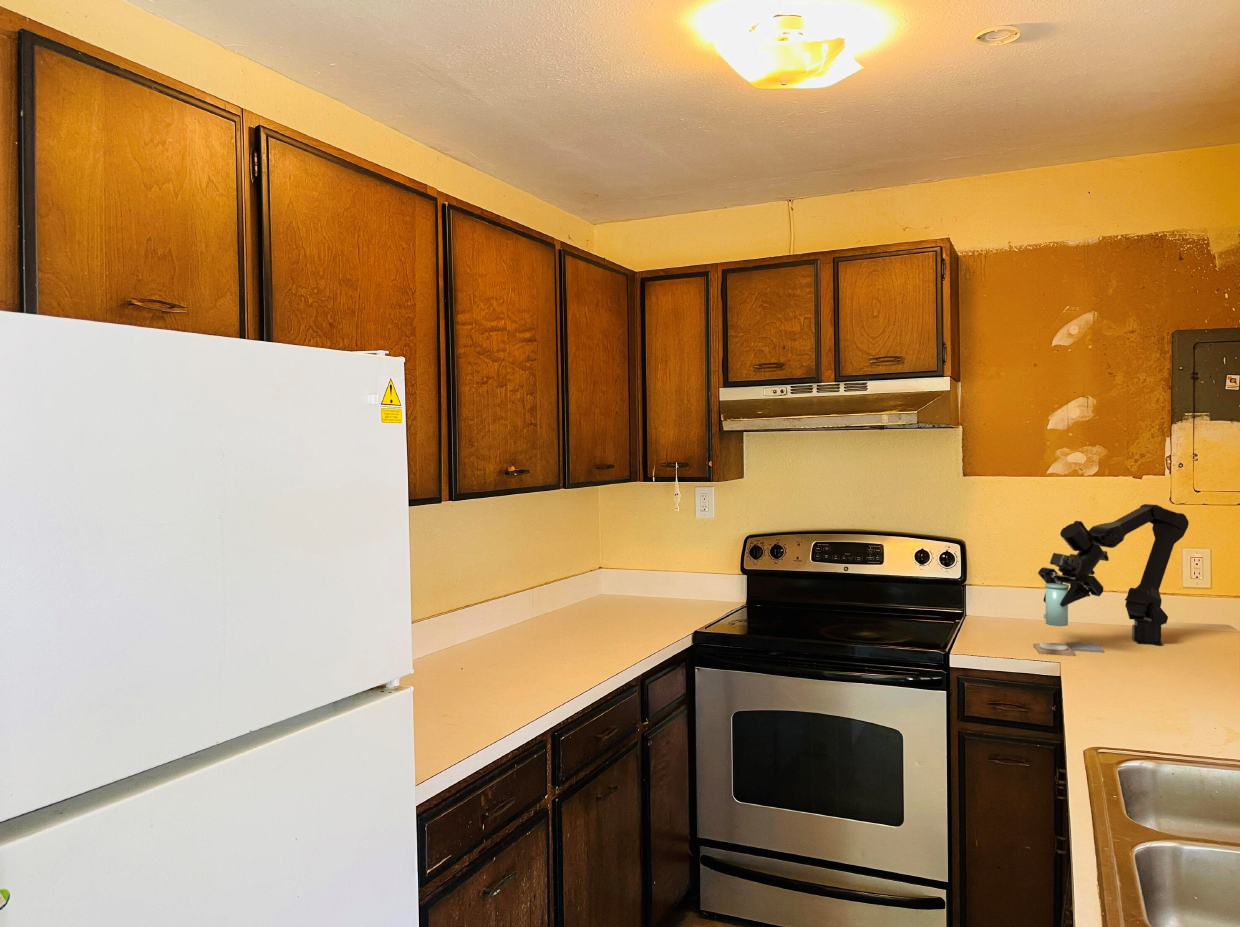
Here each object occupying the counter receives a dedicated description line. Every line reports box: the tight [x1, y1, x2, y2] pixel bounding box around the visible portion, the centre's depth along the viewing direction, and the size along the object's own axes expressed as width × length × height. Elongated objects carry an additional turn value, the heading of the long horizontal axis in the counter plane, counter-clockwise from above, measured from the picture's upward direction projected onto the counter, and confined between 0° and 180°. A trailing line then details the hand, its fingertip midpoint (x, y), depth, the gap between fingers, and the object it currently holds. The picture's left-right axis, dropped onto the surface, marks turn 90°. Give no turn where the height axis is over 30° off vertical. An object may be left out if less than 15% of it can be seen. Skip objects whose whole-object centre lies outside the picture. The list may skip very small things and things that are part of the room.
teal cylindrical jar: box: [1043, 582, 1070, 627], centre depth 248 cm, size 6×6×11 cm
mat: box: [1065, 641, 1105, 653], centre depth 252 cm, size 8×8×1 cm
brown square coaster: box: [1033, 642, 1076, 657], centre depth 248 cm, size 9×9×2 cm
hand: (1052, 603), depth 248 cm, fingers closed on teal cylindrical jar, 6 cm apart
